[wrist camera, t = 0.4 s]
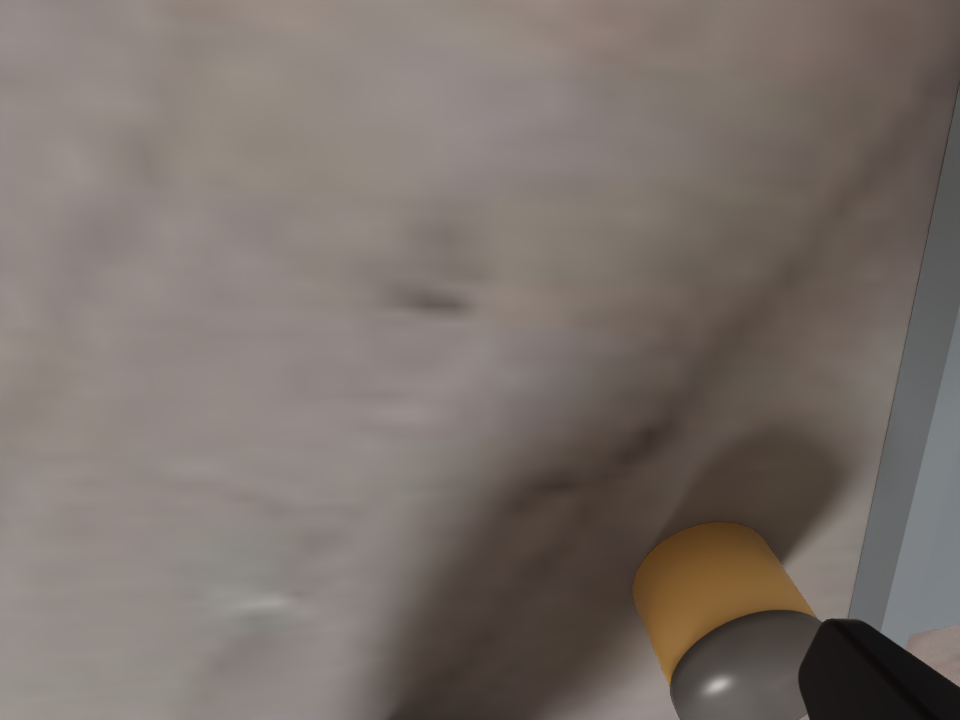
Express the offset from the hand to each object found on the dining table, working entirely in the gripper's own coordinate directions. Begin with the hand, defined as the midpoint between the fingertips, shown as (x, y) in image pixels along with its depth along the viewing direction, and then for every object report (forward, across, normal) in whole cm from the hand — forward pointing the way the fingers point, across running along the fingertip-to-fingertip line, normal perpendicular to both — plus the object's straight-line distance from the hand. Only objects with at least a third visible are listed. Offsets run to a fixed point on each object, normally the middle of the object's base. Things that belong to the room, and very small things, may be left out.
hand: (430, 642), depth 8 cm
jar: (+14, -13, +12) cm, 22 cm away
